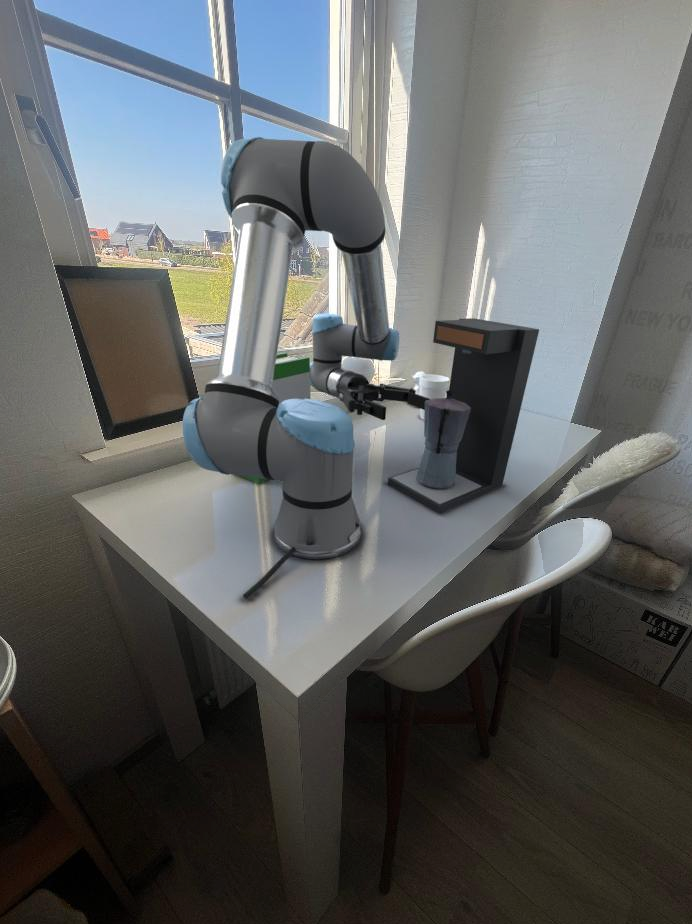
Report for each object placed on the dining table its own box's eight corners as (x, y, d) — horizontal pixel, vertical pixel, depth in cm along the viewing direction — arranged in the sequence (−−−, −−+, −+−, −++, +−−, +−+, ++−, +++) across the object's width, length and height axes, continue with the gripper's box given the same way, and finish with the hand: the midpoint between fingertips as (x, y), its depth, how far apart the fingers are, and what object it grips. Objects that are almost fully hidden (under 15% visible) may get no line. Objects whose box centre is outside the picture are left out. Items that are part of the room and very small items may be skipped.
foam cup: (411, 413, 141) (415, 374, 134) (436, 413, 144) (441, 374, 137) (422, 423, 133) (426, 381, 127) (448, 422, 136) (454, 381, 129)
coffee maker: (439, 513, 85) (468, 334, 68) (387, 483, 95) (400, 320, 78) (502, 485, 98) (539, 329, 81) (450, 462, 108) (473, 318, 91)
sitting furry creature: (431, 403, 154) (436, 369, 147) (431, 410, 146) (436, 375, 140) (406, 400, 154) (409, 367, 148) (404, 407, 147) (408, 372, 141)
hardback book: (289, 451, 107) (284, 352, 95) (311, 458, 104) (309, 357, 92) (235, 474, 94) (220, 363, 82) (258, 483, 91) (247, 369, 79)
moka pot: (458, 470, 99) (473, 385, 89) (457, 501, 86) (474, 405, 76) (418, 465, 100) (428, 380, 90) (411, 494, 87) (422, 399, 77)
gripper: (385, 395, 115) (442, 416, 102) (307, 408, 101) (362, 435, 87) (386, 367, 112) (446, 385, 98) (306, 376, 97) (364, 399, 84)
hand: (407, 409), depth 93 cm, fingers open, 13 cm apart
